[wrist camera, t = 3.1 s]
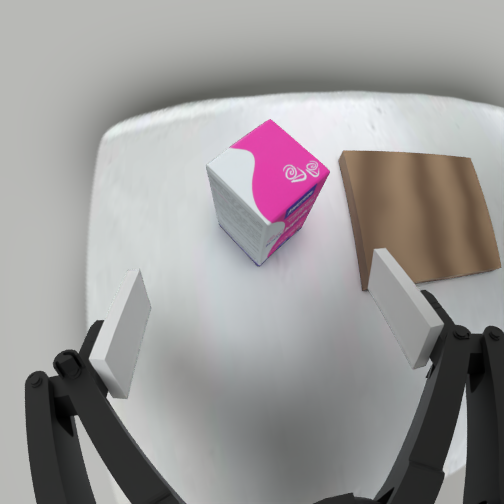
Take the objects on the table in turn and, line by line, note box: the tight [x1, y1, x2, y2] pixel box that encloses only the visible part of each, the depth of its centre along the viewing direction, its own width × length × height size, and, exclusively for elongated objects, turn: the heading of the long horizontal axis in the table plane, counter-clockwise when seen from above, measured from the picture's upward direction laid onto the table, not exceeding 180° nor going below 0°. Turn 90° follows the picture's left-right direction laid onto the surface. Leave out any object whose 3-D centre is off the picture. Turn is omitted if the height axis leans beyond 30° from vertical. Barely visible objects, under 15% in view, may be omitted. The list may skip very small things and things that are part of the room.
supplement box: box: [206, 119, 330, 266], centre depth 24 cm, size 6×6×12 cm
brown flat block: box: [339, 151, 501, 291], centre depth 29 cm, size 18×14×2 cm
